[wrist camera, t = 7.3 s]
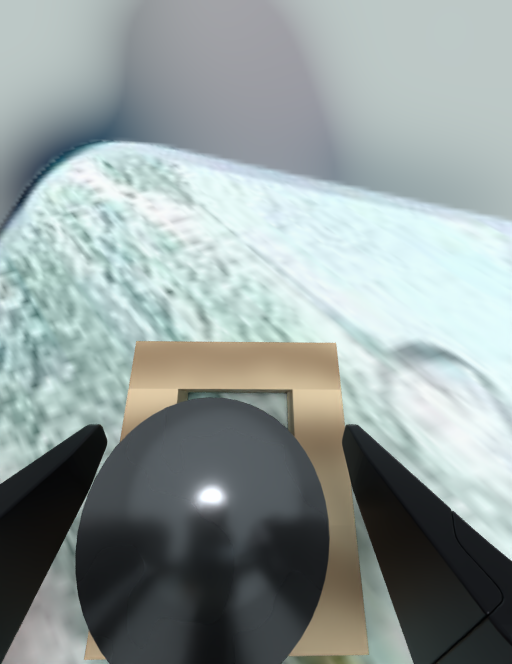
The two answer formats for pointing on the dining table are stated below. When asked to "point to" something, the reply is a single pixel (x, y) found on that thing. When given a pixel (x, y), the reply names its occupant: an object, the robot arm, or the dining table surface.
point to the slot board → (303, 423)
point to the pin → (203, 540)
